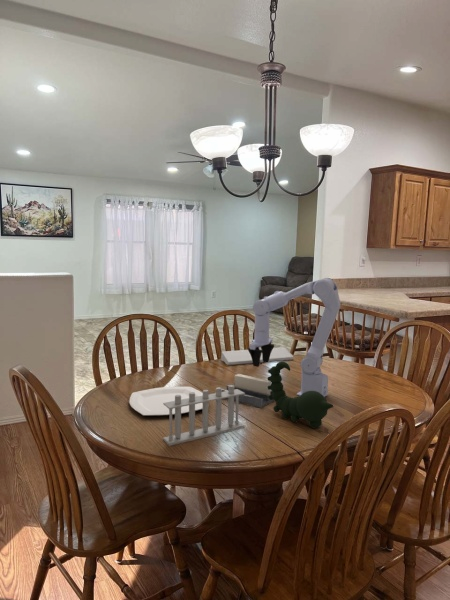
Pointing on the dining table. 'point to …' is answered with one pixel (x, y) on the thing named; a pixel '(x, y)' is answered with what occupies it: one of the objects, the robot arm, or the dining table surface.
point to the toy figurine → (297, 400)
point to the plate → (161, 400)
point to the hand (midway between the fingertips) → (261, 364)
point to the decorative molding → (246, 358)
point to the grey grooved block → (252, 397)
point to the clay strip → (252, 383)
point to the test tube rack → (203, 415)
